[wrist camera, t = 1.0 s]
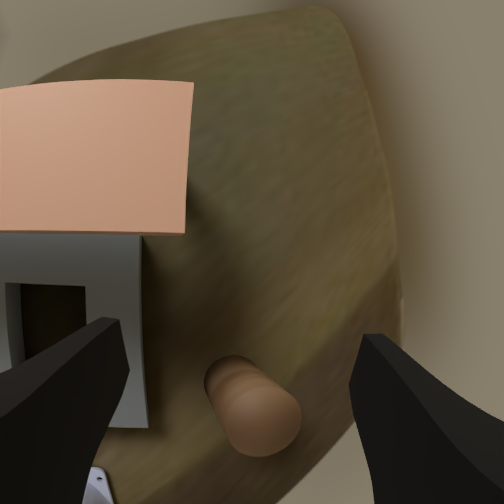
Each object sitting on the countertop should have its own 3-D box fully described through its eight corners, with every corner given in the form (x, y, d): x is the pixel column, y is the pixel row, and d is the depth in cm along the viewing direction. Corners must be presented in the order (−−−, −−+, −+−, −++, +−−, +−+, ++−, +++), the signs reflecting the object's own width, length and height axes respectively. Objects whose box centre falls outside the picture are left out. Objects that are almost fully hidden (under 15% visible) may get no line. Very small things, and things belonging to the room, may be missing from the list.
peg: (259, 404, 21) (300, 449, 15) (205, 409, 20) (227, 461, 13) (260, 353, 22) (303, 384, 15) (203, 357, 20) (225, 394, 14)
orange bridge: (171, 251, 20) (184, 233, 11) (-51, 247, 15) (-136, 232, 5) (175, 163, 21) (194, 82, 11) (-41, 169, 15) (-113, 121, 6)
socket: (148, 411, 19) (148, 427, 17) (-2, 397, 15) (-15, 409, 13) (142, 235, 20) (139, 230, 17) (-14, 233, 16) (-30, 229, 14)
